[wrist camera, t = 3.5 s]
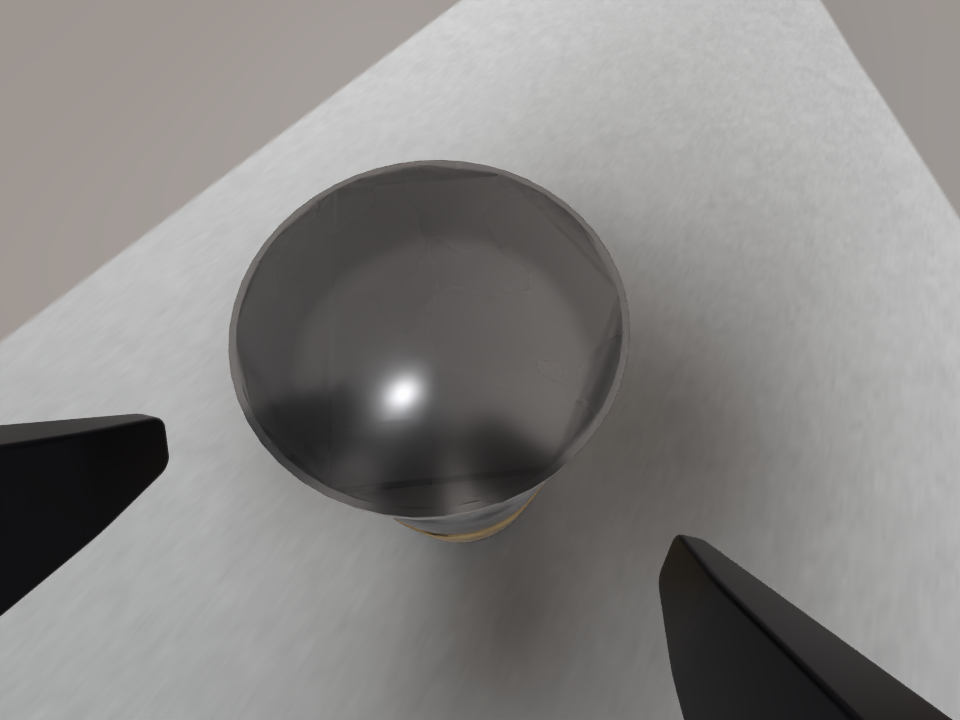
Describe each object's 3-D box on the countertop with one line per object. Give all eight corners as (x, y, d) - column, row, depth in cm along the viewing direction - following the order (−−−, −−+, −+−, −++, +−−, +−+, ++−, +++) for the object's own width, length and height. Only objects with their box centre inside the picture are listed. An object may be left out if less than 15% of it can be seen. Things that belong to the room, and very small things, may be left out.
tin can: (471, 580, 17) (451, 627, 5) (359, 478, 19) (144, 334, 7) (563, 457, 19) (703, 285, 7) (454, 373, 20) (417, 110, 8)
